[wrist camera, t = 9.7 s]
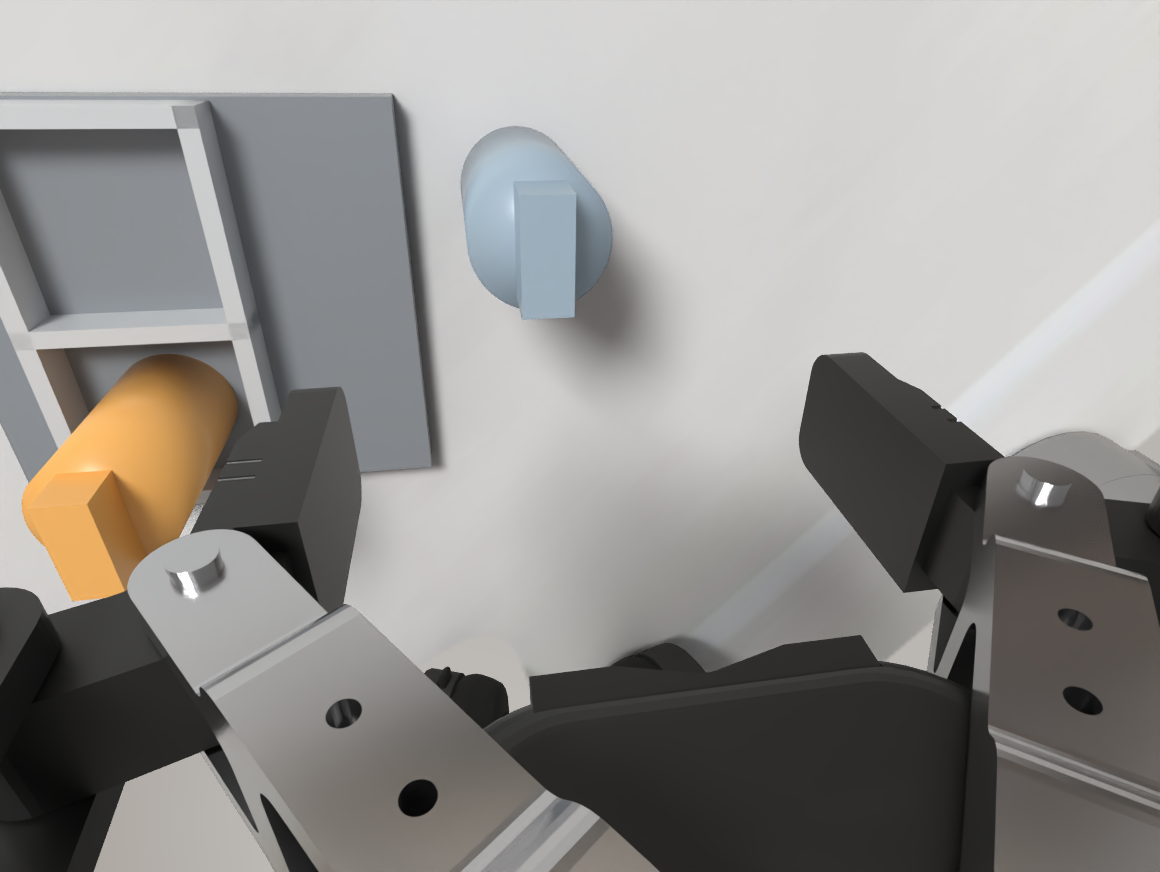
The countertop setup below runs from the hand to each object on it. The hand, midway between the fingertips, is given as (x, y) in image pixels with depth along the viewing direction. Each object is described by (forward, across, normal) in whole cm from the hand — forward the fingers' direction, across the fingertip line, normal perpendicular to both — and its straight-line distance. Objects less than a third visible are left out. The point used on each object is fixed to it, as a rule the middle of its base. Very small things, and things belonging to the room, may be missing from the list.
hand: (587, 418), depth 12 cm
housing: (+16, +12, +3) cm, 20 cm away
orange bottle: (+15, +13, +6) cm, 21 cm away
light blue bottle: (+16, 0, -1) cm, 16 cm away
